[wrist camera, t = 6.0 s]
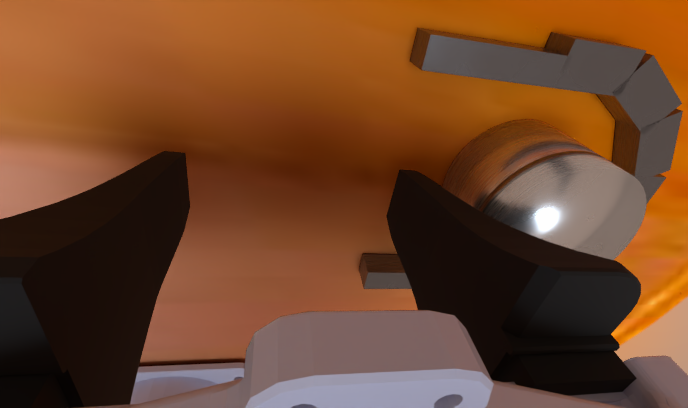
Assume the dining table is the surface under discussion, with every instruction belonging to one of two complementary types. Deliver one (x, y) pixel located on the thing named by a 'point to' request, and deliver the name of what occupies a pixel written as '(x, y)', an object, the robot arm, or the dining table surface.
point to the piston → (549, 187)
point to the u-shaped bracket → (563, 73)
